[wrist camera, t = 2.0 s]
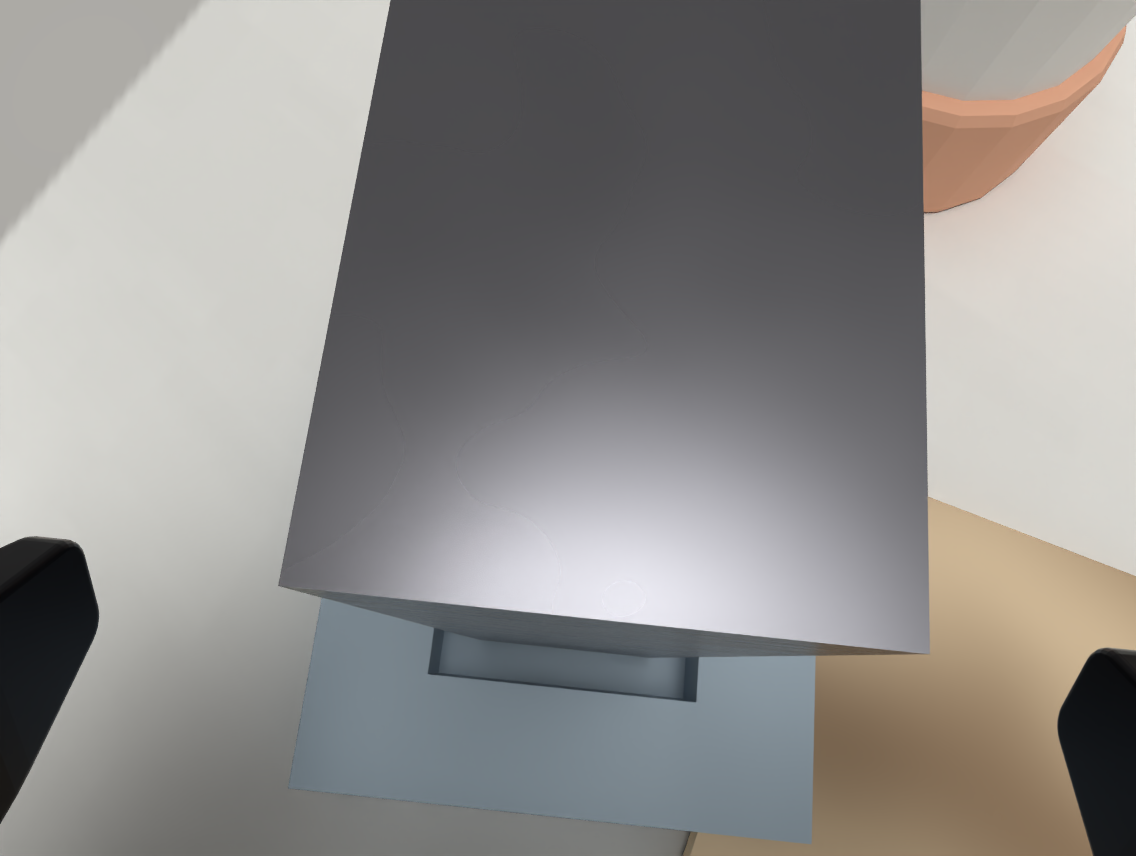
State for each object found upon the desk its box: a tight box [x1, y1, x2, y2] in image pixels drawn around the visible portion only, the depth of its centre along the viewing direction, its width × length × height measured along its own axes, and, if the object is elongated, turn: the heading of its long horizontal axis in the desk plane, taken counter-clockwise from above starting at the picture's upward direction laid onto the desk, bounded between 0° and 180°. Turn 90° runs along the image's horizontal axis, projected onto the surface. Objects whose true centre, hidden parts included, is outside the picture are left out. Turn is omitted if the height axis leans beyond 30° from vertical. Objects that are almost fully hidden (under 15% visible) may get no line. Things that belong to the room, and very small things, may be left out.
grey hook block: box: [278, 0, 930, 658], centre depth 11 cm, size 6×3×13 cm, turn 174°
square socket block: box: [288, 598, 816, 844], centre depth 16 cm, size 9×9×2 cm
